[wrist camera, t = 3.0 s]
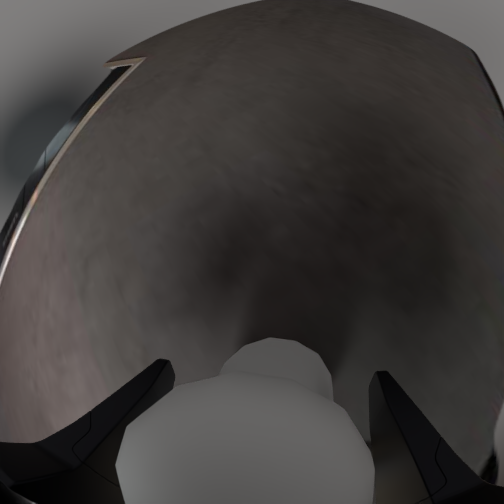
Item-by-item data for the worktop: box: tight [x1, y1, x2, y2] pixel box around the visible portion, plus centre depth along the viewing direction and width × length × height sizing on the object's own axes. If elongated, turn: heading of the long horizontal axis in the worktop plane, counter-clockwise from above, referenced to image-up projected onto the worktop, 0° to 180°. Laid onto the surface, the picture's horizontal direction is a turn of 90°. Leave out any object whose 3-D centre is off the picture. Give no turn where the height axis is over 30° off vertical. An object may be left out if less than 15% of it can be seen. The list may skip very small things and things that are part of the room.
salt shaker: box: [115, 337, 375, 504], centre depth 8 cm, size 6×6×13 cm
